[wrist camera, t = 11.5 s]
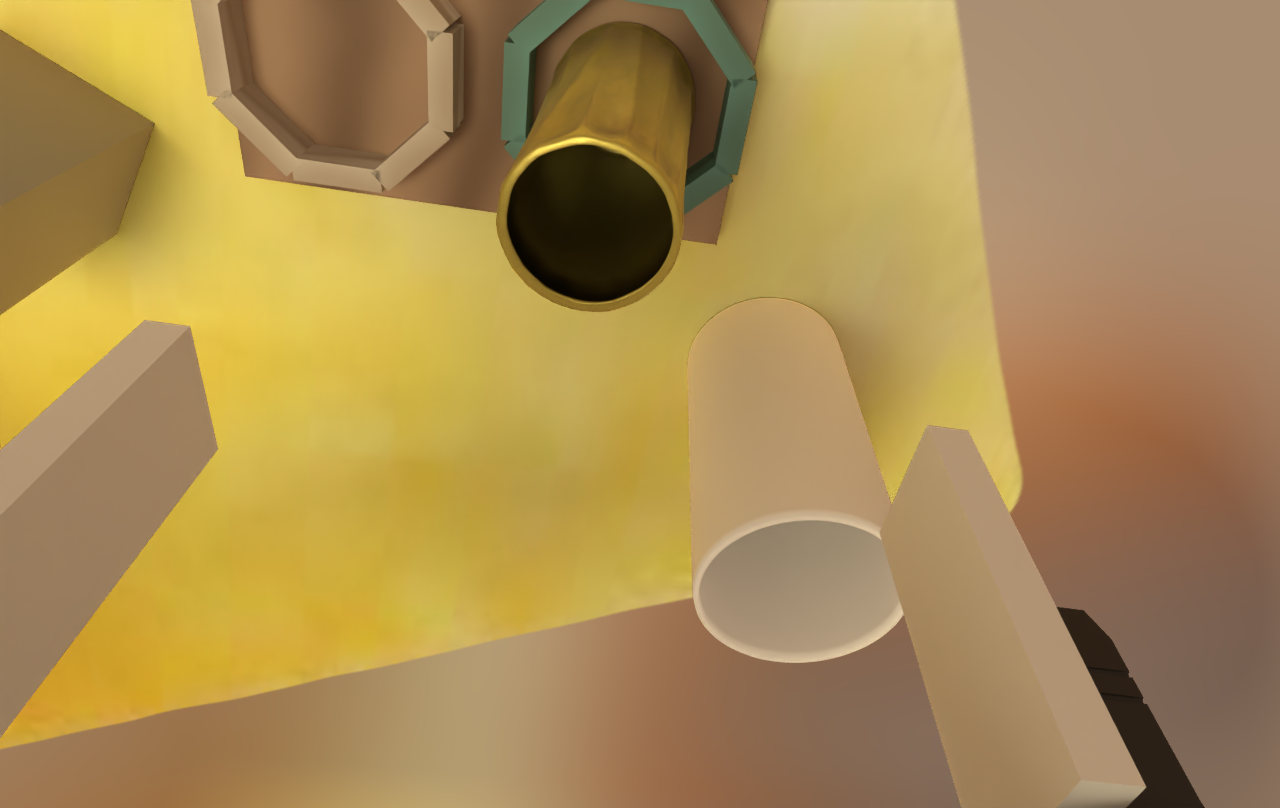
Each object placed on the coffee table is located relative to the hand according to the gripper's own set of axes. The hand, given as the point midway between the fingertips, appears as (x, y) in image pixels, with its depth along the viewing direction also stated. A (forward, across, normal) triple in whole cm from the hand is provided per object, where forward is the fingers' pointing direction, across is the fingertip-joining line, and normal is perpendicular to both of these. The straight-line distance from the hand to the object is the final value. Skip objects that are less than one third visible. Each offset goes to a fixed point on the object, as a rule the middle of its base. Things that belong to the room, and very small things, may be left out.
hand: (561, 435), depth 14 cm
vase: (+24, 0, 0) cm, 24 cm away
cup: (+25, +9, -13) cm, 29 cm away
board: (+25, -6, 0) cm, 25 cm away
